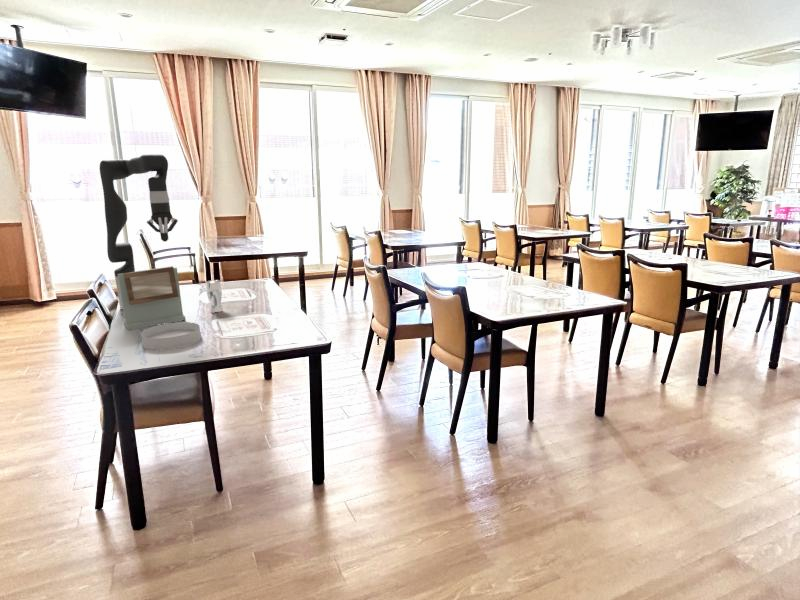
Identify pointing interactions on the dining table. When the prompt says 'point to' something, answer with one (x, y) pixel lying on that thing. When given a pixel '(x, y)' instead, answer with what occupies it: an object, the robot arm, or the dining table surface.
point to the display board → (150, 308)
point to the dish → (171, 335)
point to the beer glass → (214, 295)
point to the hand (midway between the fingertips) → (165, 241)
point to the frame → (151, 285)
